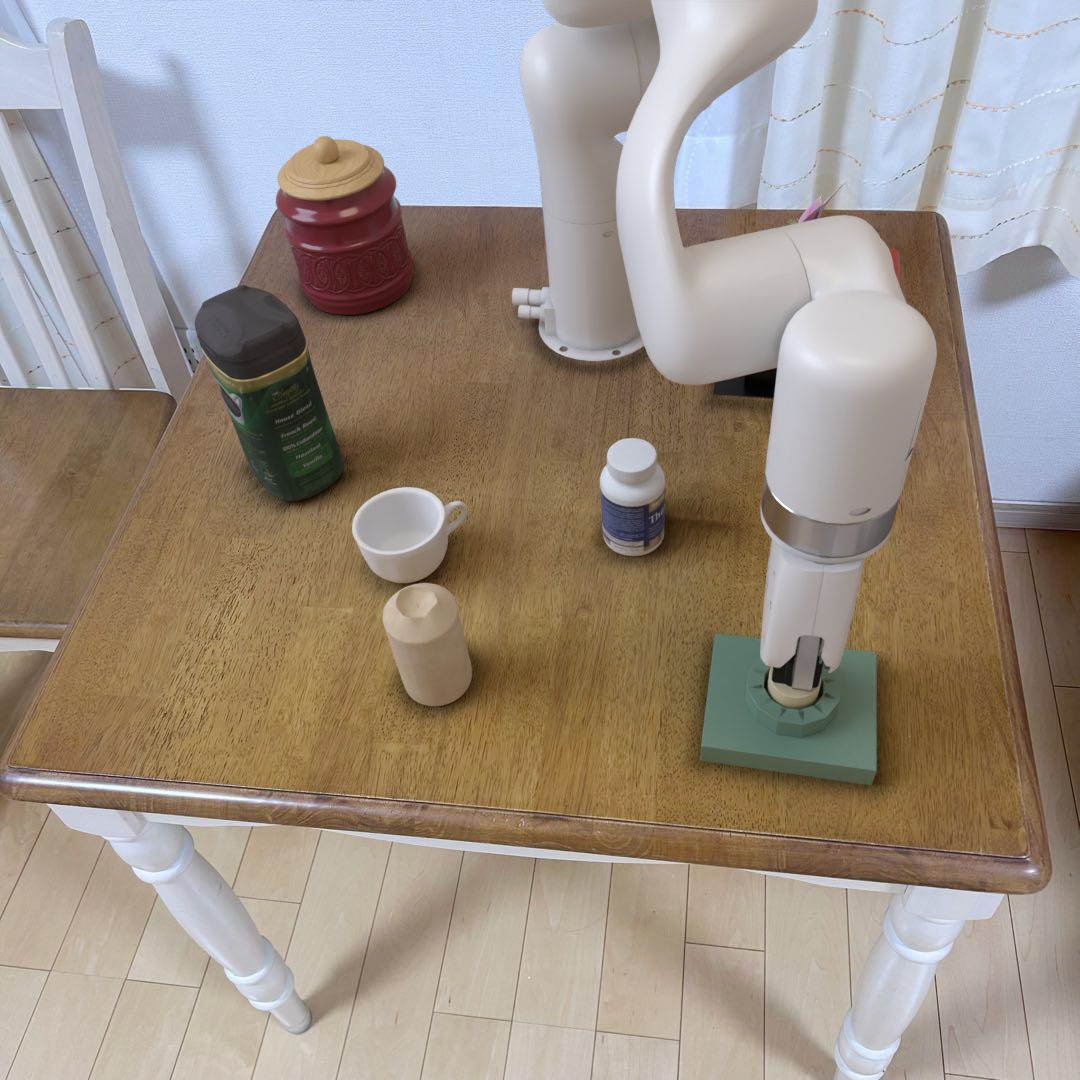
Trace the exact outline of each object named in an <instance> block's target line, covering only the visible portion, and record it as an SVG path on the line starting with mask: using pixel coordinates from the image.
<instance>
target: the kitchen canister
mask: <svg viewBox="0 0 1080 1080" xmlns="http://www.w3.org/2000/svg"><path fill="white" fill-rule="evenodd" d="M276 180H277V184H278V187H279V189H278V191H277V193H276V195H275V206H276V208H277V210H278V212H279V213H280V214H281V215H282V216H283V217H284V218H285V221H284V225H283V230H284V234H285V237H286V239H287V240H288V242H289V246H290V248H291V252H292V255H293V256H292V257H293V258H294V262H295V266H296V269H297V271H298V275H297V276H298V281H299V284H300V287H301V289H302V291H303V293H304V294H305V295H306V298H307V300H308V301H309V303H311V304H312V306H313V307H314V308H317V309H318V310H320V311H322V312H325V313H330V314H335V315H342V316H343V315H346V316H347V315H348V316H350V315H361V314H366V313H371V312H374V311H377V310H379V309H380V310H381V309H382V308H384V307H386V306H388V305H391V304H392V303H394V302H395V301H397V300H398V299H400V298H401V297H402V296H404V294H405V293H406V292H407V291H408V290H409V288H410V286H411V285H412V282H413V278H414V277H413V276H414V275H413V271H414V261H413V258H412V257H413V256H412V253H411V250H410V249H409V246H408V240H407V236H406V230H405V226H404V221H403V216H402V214H403V209H402V205H401V203H400V201H399V199H398V198H397V197H396V196H395V195H394V194H395V192H396V189H397V179H396V176H395V174H394V172H392V171H391V169H389V168H388V167H387V166H386V165H385V160H384V157H383V156H382V154H381V153H380V152H379V151H378V150H377V149H376V148H374V147H371V146H369V145H366V144H362V143H360V142H358V141H354V140H350V139H333V138H332V137H330V136H328V135H322V136H319V137H317V138H316V139H315V140H314V142H313V143H312V144H309V145H308V146H305V147H303V148H301V149H300V150H298V151H296V152H295V153H294V154H293V155H292V156H291V157H290V159H288V160H287V161H286V162H285V163H284V164H283V165H282V166H281V168H280V169H279V171H278V173H277V179H276Z"/></svg>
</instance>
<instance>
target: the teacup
mask: <svg viewBox="0 0 1080 1080" xmlns="http://www.w3.org/2000/svg"><path fill="white" fill-rule="evenodd" d="M457 508H461V513H460V515H459V516H458V517H457V518H456V519H455V520H453V521H451V522H449V518H450V516H451V514H452V512H453V511H454V510H455V509H457ZM468 514H469V509H468V506H467V505H466V504H465V503H464V502H463V501H461V500H454V501H450V502H448V503H445V504H443V502H442V501H441V500H440V498H439V497H438V496H437V495H435V494H434V493H433V492H431V491H429V490H427V489H423V488H419V487H415V486H413V487H412V486H403V487H395V488H391V489H388V490H385V491H382V492H380V493H378V494H376V495H374V496H372V497H371V498H369V499H368V500H367V501H365V502H364V503H363V504H362V505H361V506H360V507H359V508H358V510H357V512H356V513H355V515H354V517H353V519H352V523H351V532H352V535H353V538H354V540H355V542H356V544H357V547H358V549H359V551H360V553H361V556H363V558H364V561H365V562H366V563H367V566H368V567H369V568H370V570H371V571H372V572H373V573H374V574H375V575H377V576H378V577H380V578H381V579H383V580H386V581H388V582H392V583H396V584H411V583H414V582H415V583H416V582H418V581H421V580H423V579H425V578H427V577H429V576H430V575H431V574H433V573H434V572H435V571H436V570H437V569H438V568H439V567H440V565H441V564H442V562H443V560H444V559H445V556H446V553H447V550H448V545H449V535H451V533H453V531H455V530H456V529H457V528H458V527H459V526H460V525H461V524H463V522H464V521H465V520H466V519H467V517H468Z"/></svg>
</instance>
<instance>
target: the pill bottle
mask: <svg viewBox="0 0 1080 1080" xmlns="http://www.w3.org/2000/svg"><path fill="white" fill-rule="evenodd" d="M665 476H666V475H665V472H664V470H663V468H662V466H660V464H659V463H658V455H657V450H656V449H655V447H654V446H653V445H652V444H651V443H650V442H649V441H647V440H644V439H641V438H636V437H628V438H623V439H620V440H617V441H616V442H614V443H613V444H612V445H611V446H610V447H609V448H608V450H607V453H606V465H605V466H604V467H603V469H602V470H601V474H600V477H599V492H600V495H599V496H600V509H601V529H602V537H603V540H604V542H605V544H606V546H607V547H608V548H609V549H611V550H612V551H613V552H615V553H617V554H620V555H623V556H627V557H641V556H645V555H648V554H651V553H652V552H653V551H655V550H656V549H657V548H658V547H659V546H660V545H661V544H662V542H663V540H664V536H665V527H666V526H665V523H666V477H665Z"/></svg>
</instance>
